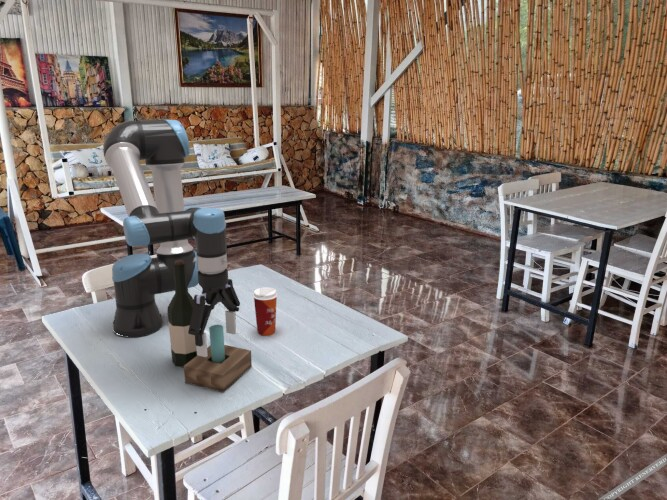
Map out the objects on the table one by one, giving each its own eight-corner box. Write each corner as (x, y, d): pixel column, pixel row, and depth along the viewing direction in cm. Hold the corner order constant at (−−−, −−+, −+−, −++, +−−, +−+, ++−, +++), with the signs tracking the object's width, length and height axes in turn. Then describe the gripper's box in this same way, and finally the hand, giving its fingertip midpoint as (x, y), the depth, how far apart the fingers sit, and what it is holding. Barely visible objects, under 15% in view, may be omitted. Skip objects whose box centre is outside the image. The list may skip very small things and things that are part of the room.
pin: (209, 372, 142) (206, 329, 138) (217, 366, 145) (214, 323, 141) (221, 375, 141) (218, 331, 137) (228, 368, 144) (225, 325, 140)
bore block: (185, 382, 139) (183, 365, 138) (215, 357, 152) (214, 342, 150) (223, 392, 135) (222, 375, 133) (251, 366, 147) (251, 350, 146)
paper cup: (274, 338, 163) (273, 297, 159) (250, 336, 165) (249, 294, 160) (281, 327, 170) (280, 287, 166) (259, 325, 172) (257, 285, 168)
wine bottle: (186, 370, 145) (178, 268, 136) (165, 362, 149) (156, 262, 140) (208, 357, 152) (201, 259, 142) (188, 350, 156) (180, 254, 147)
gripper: (195, 288, 121) (201, 369, 128) (250, 256, 143) (253, 327, 150) (168, 283, 124) (176, 363, 131) (227, 253, 146) (230, 322, 153)
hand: (217, 344), depth 140 cm, fingers open, 13 cm apart
